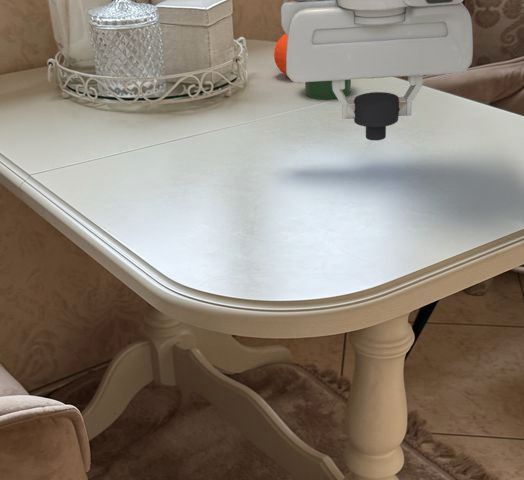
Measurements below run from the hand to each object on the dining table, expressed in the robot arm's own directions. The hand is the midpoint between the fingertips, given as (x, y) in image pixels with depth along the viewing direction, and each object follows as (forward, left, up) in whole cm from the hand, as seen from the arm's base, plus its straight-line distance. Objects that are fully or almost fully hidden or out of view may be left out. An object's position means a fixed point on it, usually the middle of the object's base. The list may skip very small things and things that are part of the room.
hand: (376, 116), depth 90 cm
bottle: (+4, -31, -6) cm, 32 cm away
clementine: (+9, -41, -6) cm, 43 cm away
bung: (0, 0, -3) cm, 3 cm away
